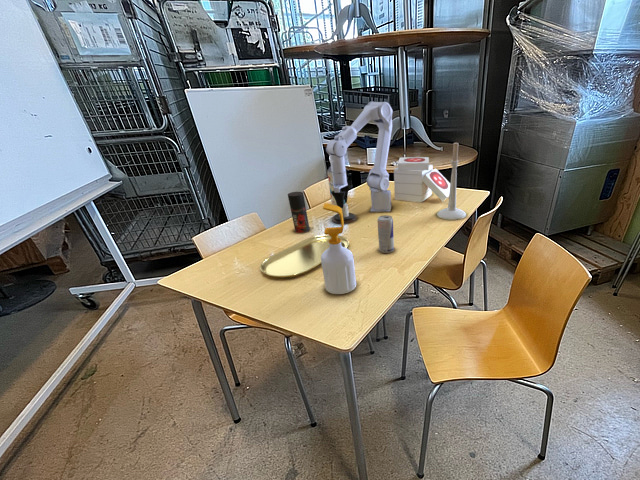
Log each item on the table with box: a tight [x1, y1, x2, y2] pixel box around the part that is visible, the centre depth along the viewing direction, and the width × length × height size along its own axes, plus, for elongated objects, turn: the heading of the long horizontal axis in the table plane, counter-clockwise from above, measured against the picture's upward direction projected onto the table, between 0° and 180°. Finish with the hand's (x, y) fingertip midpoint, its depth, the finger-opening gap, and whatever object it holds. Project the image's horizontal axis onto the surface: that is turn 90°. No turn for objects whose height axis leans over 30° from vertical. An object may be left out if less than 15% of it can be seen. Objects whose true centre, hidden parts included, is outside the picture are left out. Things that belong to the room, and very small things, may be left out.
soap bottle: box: [321, 202, 357, 295], centre depth 92 cm, size 9×9×25 cm
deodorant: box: [287, 191, 311, 234], centre depth 134 cm, size 6×6×15 cm
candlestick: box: [436, 142, 467, 221], centre depth 142 cm, size 13×13×30 cm
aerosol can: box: [326, 166, 337, 206], centre depth 160 cm, size 7×7×20 cm
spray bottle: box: [333, 199, 355, 221], centre depth 146 cm, size 9×9×8 cm
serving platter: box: [259, 234, 350, 279], centre depth 116 cm, size 19×35×2 cm, turn 148°
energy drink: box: [376, 214, 395, 254], centre depth 117 cm, size 5×5×12 cm
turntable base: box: [331, 213, 358, 225], centre depth 148 cm, size 11×11×1 cm
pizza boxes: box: [393, 156, 451, 203], centre depth 168 cm, size 19×30×18 cm, turn 65°
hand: (342, 205), depth 145 cm, fingers open, 7 cm apart
